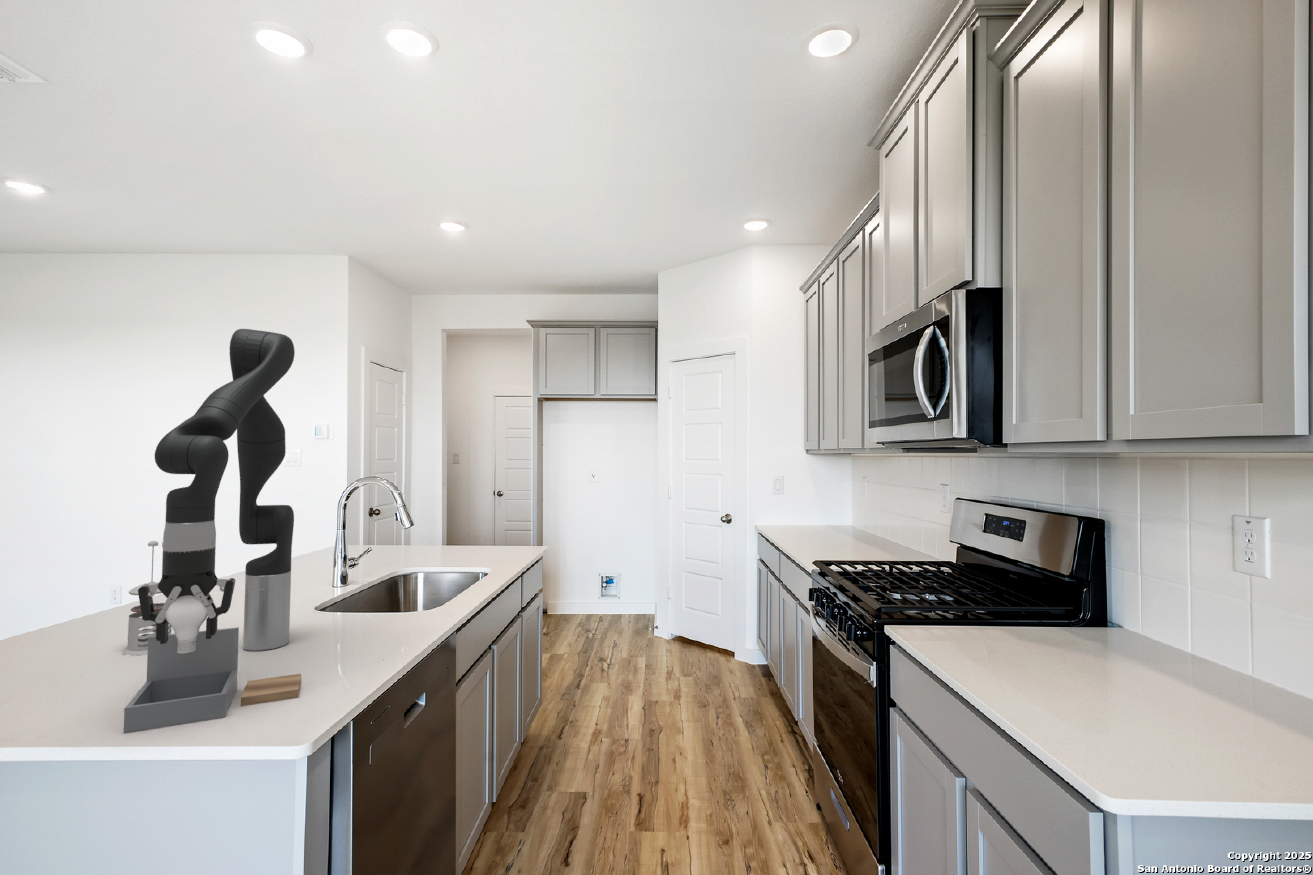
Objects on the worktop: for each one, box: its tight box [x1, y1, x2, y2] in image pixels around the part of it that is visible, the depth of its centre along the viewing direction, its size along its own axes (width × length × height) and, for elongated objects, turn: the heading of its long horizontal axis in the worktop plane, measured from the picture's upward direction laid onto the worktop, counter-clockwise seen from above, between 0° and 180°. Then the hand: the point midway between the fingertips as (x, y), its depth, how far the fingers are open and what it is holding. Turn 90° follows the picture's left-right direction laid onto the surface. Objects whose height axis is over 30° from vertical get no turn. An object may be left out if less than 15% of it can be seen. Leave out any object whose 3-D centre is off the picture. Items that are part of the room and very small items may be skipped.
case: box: [122, 627, 240, 734], centre depth 107 cm, size 14×14×12 cm
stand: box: [239, 673, 302, 707], centre depth 115 cm, size 9×9×2 cm
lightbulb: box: [165, 595, 208, 655], centre depth 108 cm, size 6×6×11 cm
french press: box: [121, 540, 172, 656], centre depth 141 cm, size 10×12×25 cm
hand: (186, 639), depth 108 cm, fingers closed on lightbulb, 6 cm apart
